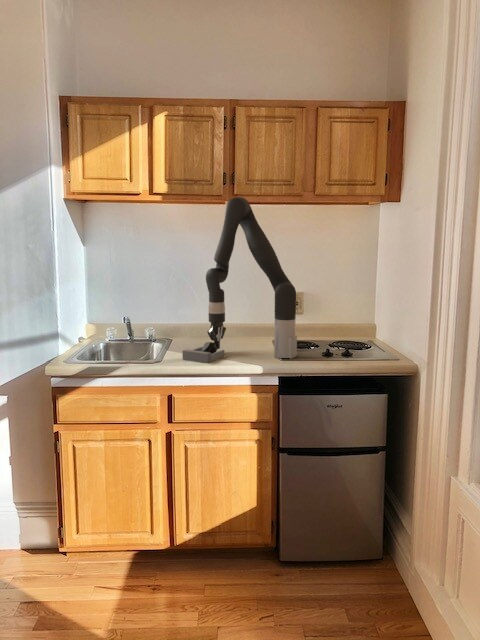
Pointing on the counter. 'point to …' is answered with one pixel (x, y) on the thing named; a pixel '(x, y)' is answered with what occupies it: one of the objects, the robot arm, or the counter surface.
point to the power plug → (209, 347)
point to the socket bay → (202, 355)
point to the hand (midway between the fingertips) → (217, 348)
